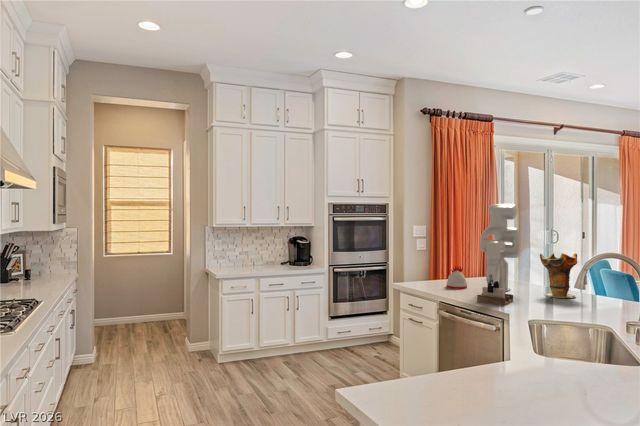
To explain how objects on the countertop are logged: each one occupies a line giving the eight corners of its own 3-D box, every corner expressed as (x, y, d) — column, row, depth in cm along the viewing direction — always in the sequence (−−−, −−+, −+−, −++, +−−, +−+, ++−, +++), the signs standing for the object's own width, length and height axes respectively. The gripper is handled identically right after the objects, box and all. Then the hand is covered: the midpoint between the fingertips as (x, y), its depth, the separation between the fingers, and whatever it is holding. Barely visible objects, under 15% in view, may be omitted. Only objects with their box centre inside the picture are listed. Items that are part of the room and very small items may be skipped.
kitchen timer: (469, 289, 309) (469, 267, 309) (449, 289, 309) (449, 267, 309) (463, 285, 323) (463, 264, 322) (444, 285, 323) (444, 264, 323)
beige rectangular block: (484, 298, 269) (484, 286, 269) (504, 301, 262) (504, 288, 262) (482, 299, 267) (482, 287, 267) (503, 301, 259) (503, 289, 259)
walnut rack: (486, 298, 278) (486, 291, 278) (513, 301, 268) (513, 294, 268) (477, 301, 266) (477, 295, 266) (505, 305, 256) (505, 298, 256)
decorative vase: (549, 291, 300) (550, 249, 300) (585, 297, 281) (586, 252, 281) (531, 294, 289) (532, 251, 289) (567, 300, 270) (568, 254, 269)
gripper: (491, 260, 273) (491, 288, 274) (481, 263, 260) (481, 292, 260) (504, 261, 269) (504, 289, 269) (495, 264, 255) (494, 294, 256)
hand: (493, 291), depth 265 cm, fingers open, 9 cm apart
